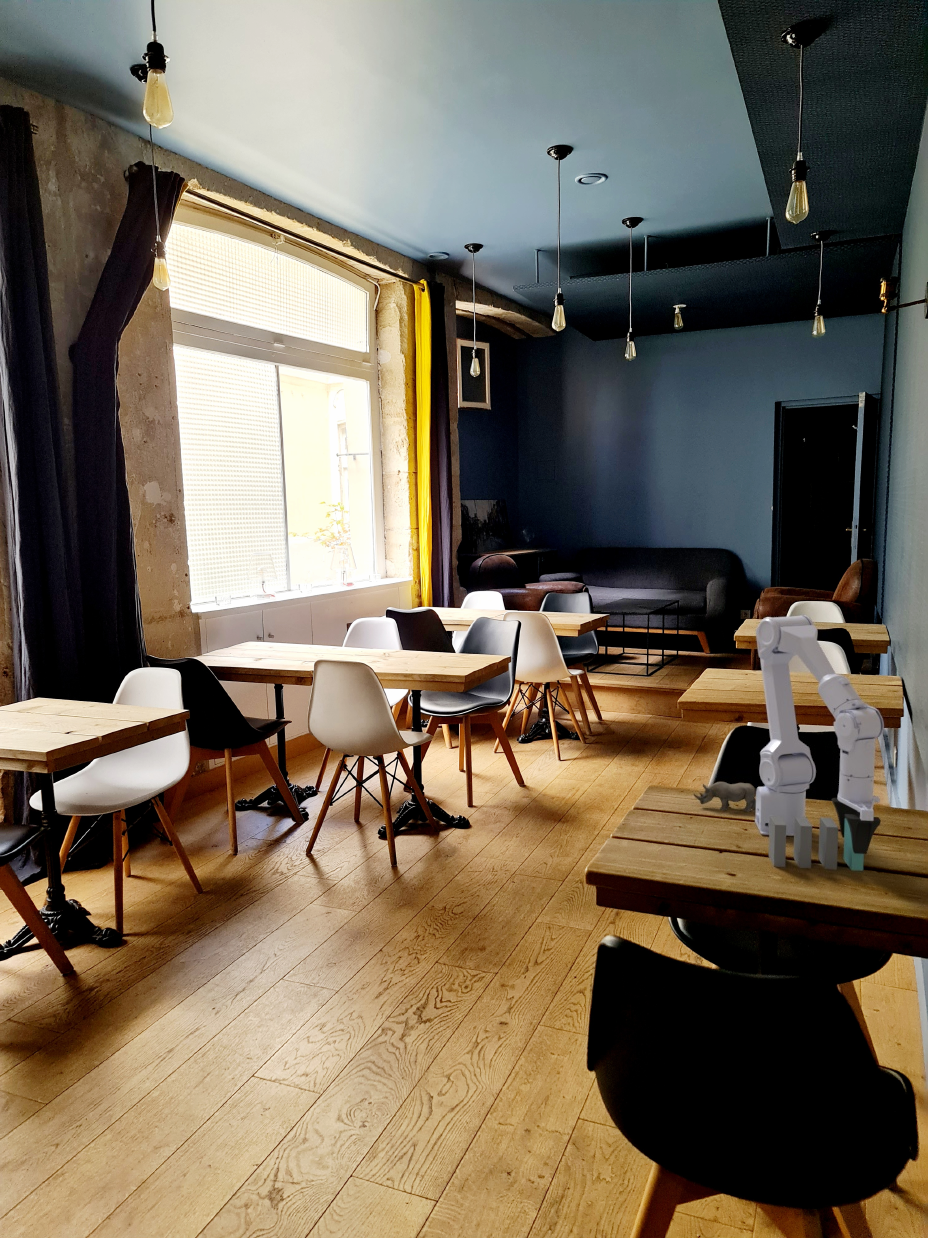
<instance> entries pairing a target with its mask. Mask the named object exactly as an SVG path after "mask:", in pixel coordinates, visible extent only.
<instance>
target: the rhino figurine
mask: <svg viewBox="0 0 928 1238" xmlns="http://www.w3.org/2000/svg"><path fill="white" fill-rule="evenodd" d="M702 787H703V789H704V793H703V792H699V795H697V794H695V793H693V797H694V798H695V799H696V800H698V801H699V802H700V804H701V805H705V804H707V803H709V802H711V801H712V800H713V799H714V798H718V799H720V803H721V807H720V809H719V811H723V812H724V811H727V810H728V809H727V808H728V807H730V805H731V804H730V803H729V802H733V803H739V802H741V801H743V800H744V801H745V802H746V804H745V807H744V808H743V810H742V811H743V812H746V813H749V812H752V810H756V791H757V789H756V788H755V786H753V785H752V784H751V783H747V782H746V783H744V782H738V783H732V784H730V783H727V782H725V781H717V782H715V783H713V784H711V785H708V786H707V785H706V784H705V783H703V784H702Z"/></svg>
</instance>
